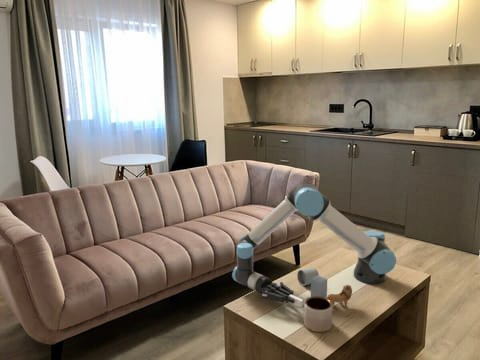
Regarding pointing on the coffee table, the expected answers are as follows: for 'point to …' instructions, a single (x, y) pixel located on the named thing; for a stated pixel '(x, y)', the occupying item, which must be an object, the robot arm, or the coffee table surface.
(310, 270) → the ceramic mug
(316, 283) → the slate block
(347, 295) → the lion figurine
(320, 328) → the planter
